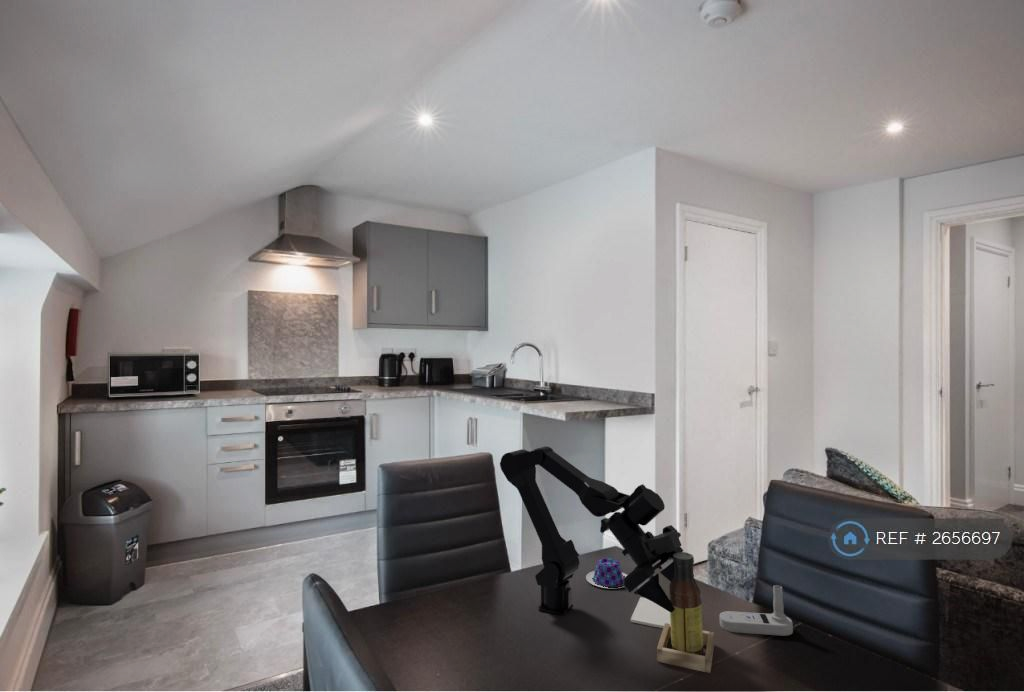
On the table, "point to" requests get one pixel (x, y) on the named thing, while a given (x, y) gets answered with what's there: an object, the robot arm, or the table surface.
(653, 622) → the coaster
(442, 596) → the table surface
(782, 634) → the electronic device
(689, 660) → the bottle holder
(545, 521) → the robot arm
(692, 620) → the sauce bottle
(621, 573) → the pudding
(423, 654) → the table surface
